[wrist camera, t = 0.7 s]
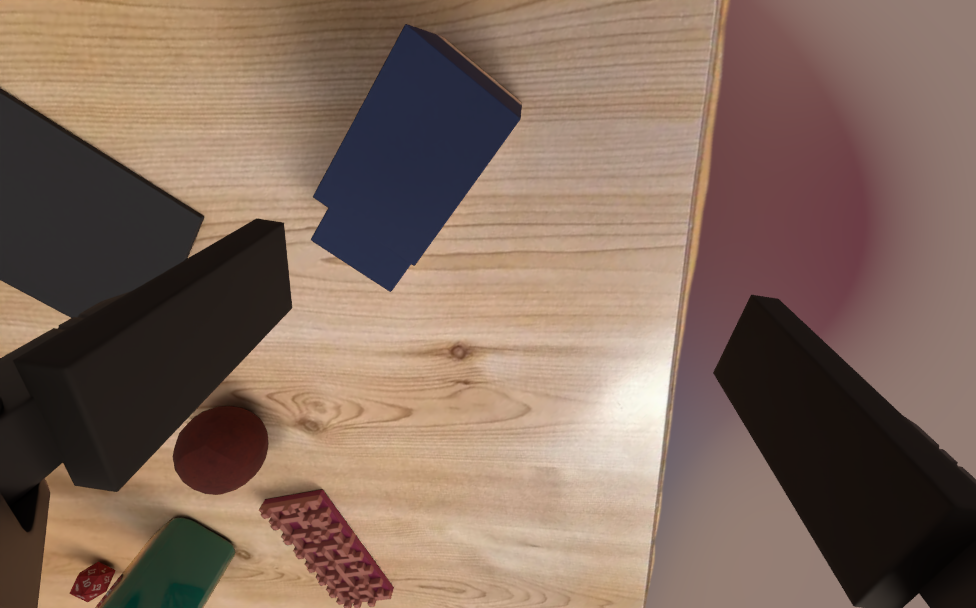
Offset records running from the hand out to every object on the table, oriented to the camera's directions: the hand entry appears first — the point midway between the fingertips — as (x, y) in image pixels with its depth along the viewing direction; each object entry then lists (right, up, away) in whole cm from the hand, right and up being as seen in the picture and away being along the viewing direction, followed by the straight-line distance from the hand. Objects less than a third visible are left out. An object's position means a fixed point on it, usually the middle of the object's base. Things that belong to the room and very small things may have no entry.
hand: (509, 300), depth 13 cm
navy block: (-5, +9, +17) cm, 20 cm away
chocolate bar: (-18, -28, +39) cm, 51 cm away
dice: (-50, -34, +45) cm, 75 cm away
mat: (-33, +5, +21) cm, 39 cm away
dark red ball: (-24, -11, +30) cm, 40 cm away
